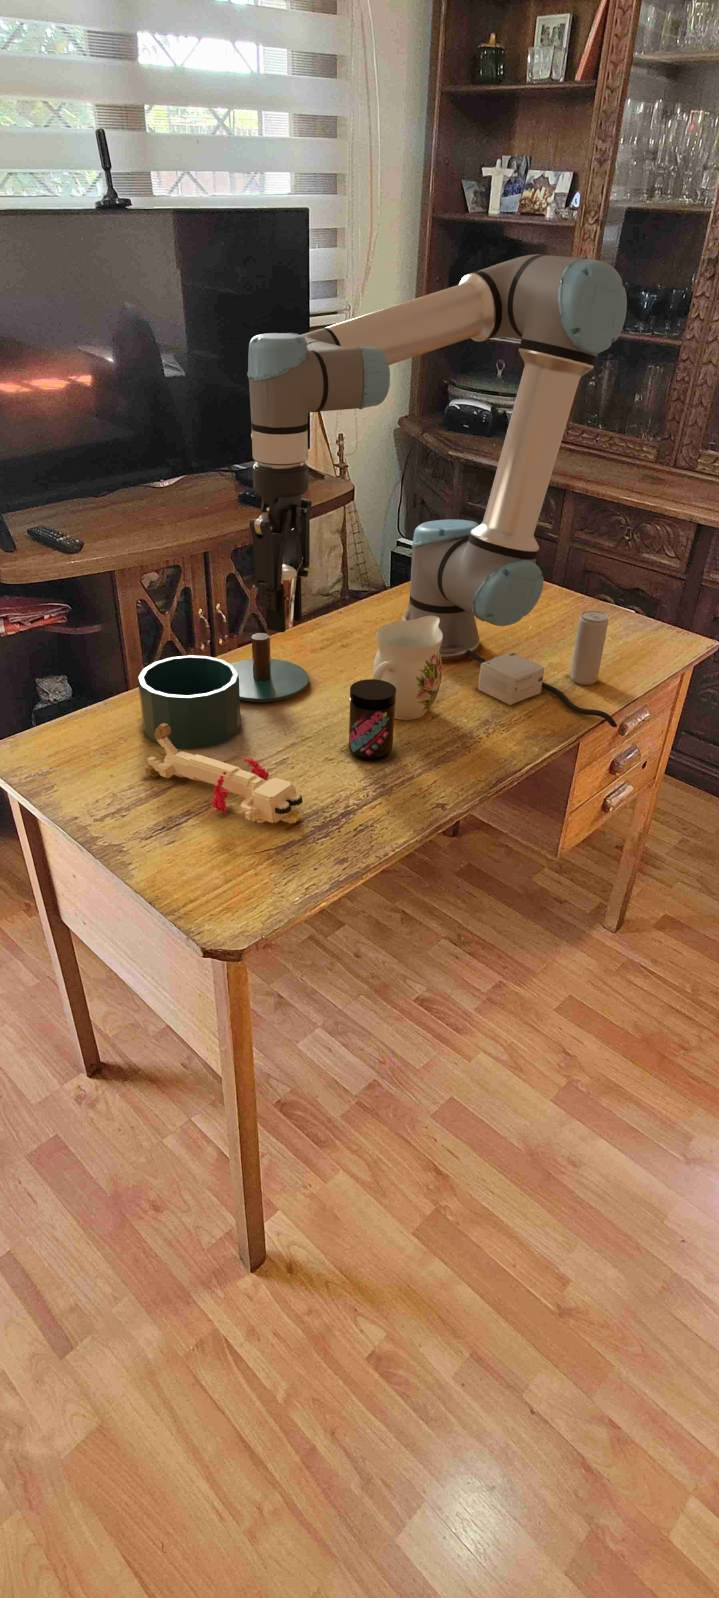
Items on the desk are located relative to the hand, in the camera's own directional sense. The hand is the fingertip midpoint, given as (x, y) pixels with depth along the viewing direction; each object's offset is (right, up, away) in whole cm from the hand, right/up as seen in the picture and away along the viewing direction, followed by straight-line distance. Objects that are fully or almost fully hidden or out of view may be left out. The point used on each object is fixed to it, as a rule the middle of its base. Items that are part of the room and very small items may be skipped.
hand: (284, 623), depth 138 cm
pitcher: (+18, -12, +13) cm, 25 cm away
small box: (+37, -8, +20) cm, 43 cm away
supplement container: (+13, -19, +2) cm, 23 cm away
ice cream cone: (0, 0, 0) cm, 1 cm away
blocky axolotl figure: (-7, -26, -10) cm, 29 cm away
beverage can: (+51, -5, +25) cm, 57 cm away
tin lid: (-5, -6, +20) cm, 21 cm away
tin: (-15, -15, +7) cm, 22 cm away
